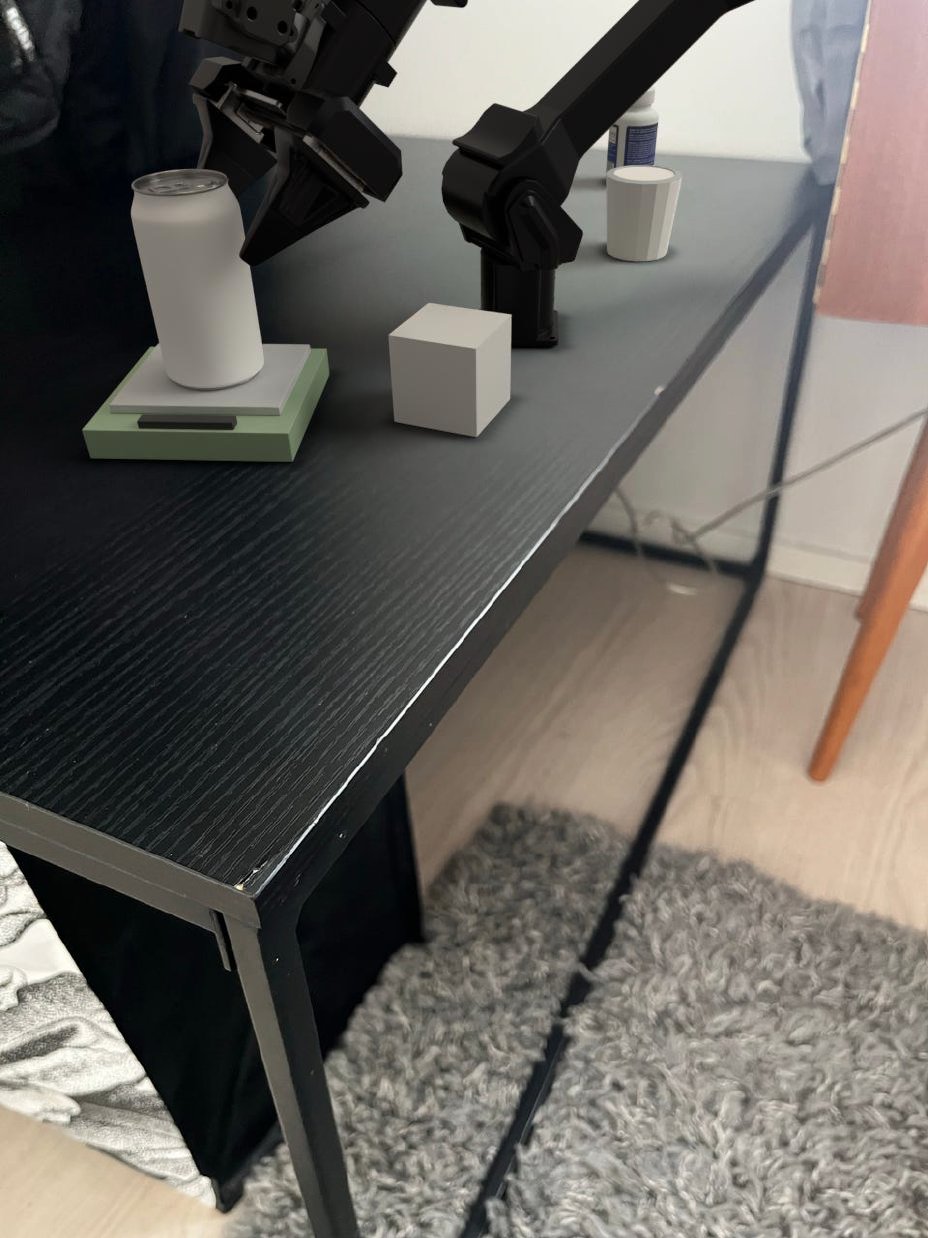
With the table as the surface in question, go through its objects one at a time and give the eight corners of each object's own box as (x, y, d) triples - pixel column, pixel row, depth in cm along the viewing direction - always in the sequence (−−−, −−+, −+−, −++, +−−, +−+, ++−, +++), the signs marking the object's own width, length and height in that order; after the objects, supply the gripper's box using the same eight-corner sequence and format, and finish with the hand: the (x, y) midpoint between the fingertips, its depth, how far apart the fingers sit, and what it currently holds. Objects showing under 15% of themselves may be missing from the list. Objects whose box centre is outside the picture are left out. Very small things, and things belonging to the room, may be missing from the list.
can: (281, 376, 62) (252, 183, 55) (187, 401, 60) (144, 201, 52) (242, 345, 67) (211, 161, 59) (154, 367, 64) (109, 177, 56)
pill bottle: (659, 180, 109) (669, 85, 103) (640, 191, 106) (649, 93, 100) (617, 174, 112) (624, 81, 106) (597, 185, 108) (603, 89, 102)
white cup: (672, 265, 86) (682, 183, 82) (597, 261, 87) (603, 180, 83) (674, 242, 91) (683, 164, 87) (603, 238, 93) (609, 162, 88)
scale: (292, 462, 59) (287, 424, 57) (90, 458, 59) (79, 420, 58) (329, 374, 69) (325, 340, 67) (156, 372, 69) (148, 338, 68)
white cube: (510, 399, 65) (512, 314, 61) (476, 437, 61) (476, 348, 57) (431, 385, 67) (428, 302, 63) (393, 421, 63) (388, 334, 59)
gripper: (190, -99, 57) (57, 129, 59) (330, -95, 44) (156, 194, 47) (322, 40, 65) (202, 235, 67) (472, 76, 52) (318, 314, 55)
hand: (216, 242), depth 59 cm, fingers open, 9 cm apart
